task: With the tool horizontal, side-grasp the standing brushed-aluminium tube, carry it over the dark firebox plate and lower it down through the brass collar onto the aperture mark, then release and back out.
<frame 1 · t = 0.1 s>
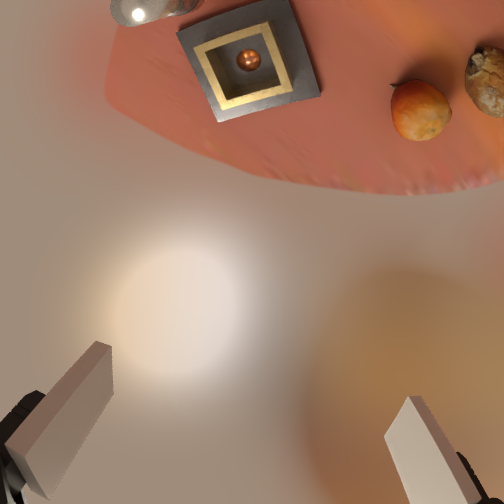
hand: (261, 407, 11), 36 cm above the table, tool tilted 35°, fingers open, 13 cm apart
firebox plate: (249, 58, 32), on the table
fruit: (411, 101, 32), on the table
bread roll: (488, 77, 26), on the table
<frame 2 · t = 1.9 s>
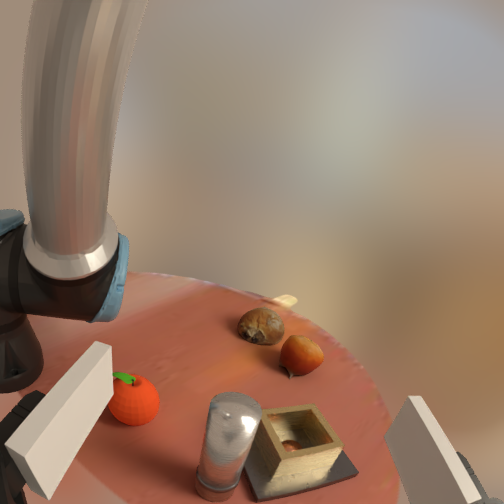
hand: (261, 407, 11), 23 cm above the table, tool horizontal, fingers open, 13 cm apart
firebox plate: (288, 452, 34), on the table
fruit: (296, 370, 55), on the table
clementine: (130, 416, 34), on the table
bread roll: (259, 336, 65), on the table
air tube: (214, 487, 26), on the table
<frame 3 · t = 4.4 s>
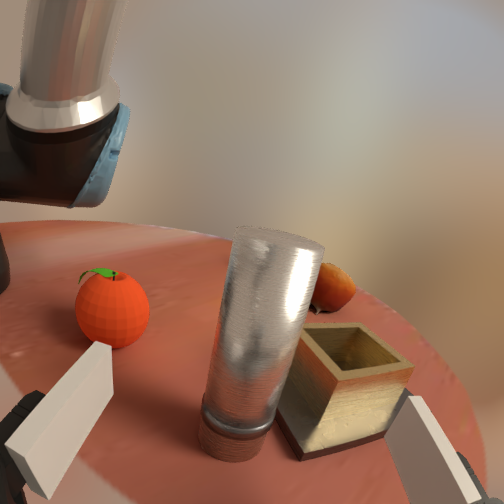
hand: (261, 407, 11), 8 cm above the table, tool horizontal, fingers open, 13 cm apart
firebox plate: (333, 390, 25), on the table
fruit: (322, 308, 46), on the table
clementine: (107, 341, 26), on the table
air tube: (230, 438, 18), on the table
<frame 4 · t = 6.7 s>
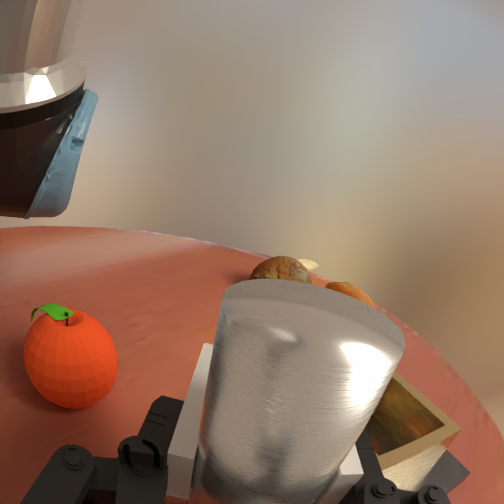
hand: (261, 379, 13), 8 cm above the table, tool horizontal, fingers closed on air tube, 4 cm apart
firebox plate: (357, 456, 18), on the table
fruit: (336, 334, 38), on the table
clementine: (70, 394, 18), on the table
bread roll: (277, 295, 49), on the table
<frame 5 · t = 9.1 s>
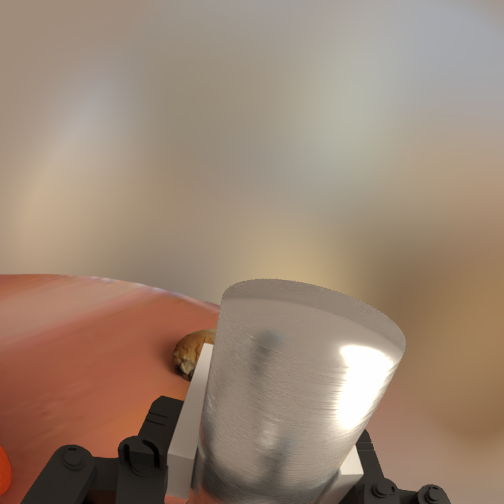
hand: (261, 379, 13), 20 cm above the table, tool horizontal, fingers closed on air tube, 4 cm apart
bread roll: (203, 369, 44), on the table
when the fingers open (10 cm above the table, at t = 11.4 s): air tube drops 1 cm, resting on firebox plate.
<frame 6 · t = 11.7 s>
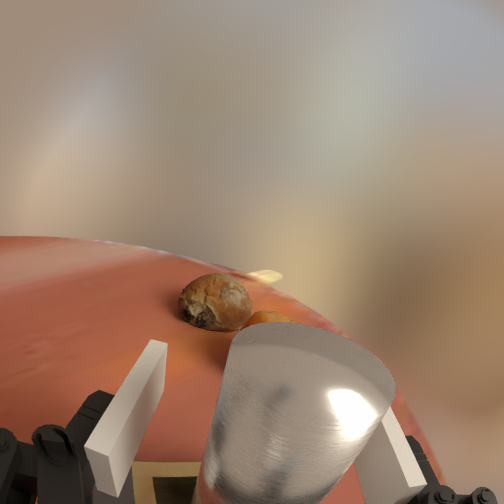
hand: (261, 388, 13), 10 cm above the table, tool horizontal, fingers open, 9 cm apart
fruit: (266, 373, 31), on the table
bread roll: (212, 318, 42), on the table
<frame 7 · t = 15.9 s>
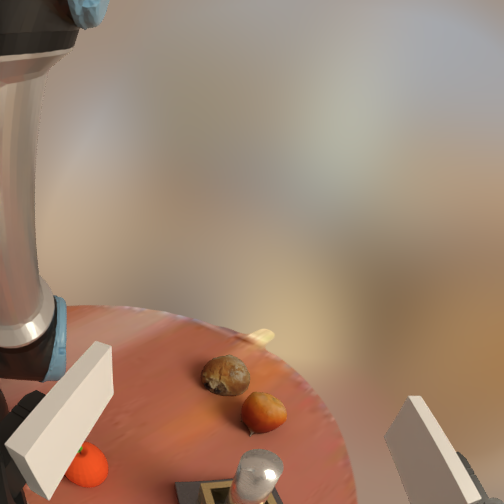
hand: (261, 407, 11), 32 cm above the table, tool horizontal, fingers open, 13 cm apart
fruit: (259, 425, 49), on the table
clementine: (85, 475, 29), on the table
bread roll: (224, 384, 60), on the table
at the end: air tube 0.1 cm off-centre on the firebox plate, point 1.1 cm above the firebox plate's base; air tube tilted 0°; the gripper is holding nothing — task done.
